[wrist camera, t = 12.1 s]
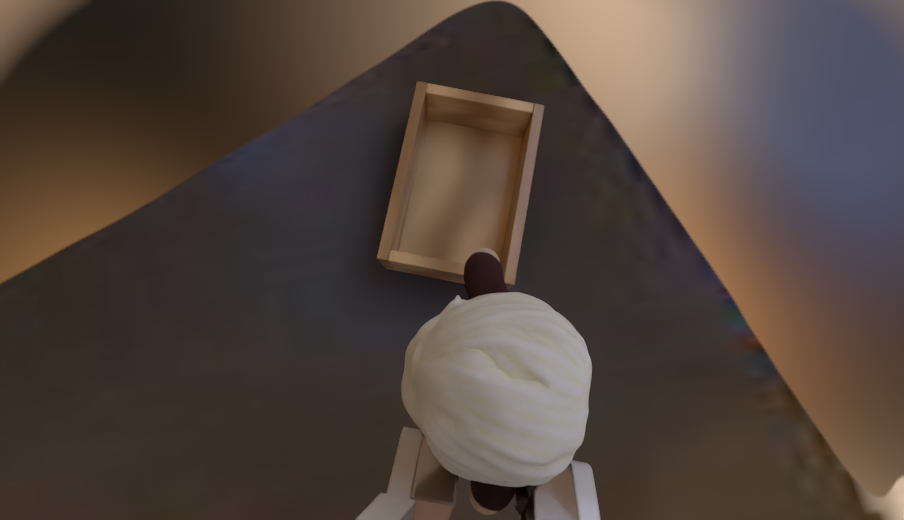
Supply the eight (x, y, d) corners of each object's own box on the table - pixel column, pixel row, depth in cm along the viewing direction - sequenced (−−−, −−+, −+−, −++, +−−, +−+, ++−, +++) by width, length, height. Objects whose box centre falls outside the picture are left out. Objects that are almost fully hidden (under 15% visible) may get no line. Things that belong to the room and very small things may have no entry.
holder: (385, 268, 33) (376, 258, 28) (420, 112, 35) (417, 80, 31) (504, 291, 33) (514, 285, 28) (531, 134, 35) (544, 104, 31)
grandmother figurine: (557, 450, 17) (743, 684, 5) (466, 468, 17) (431, 742, 5) (513, 273, 19) (573, 123, 7) (432, 290, 19) (344, 173, 7)
